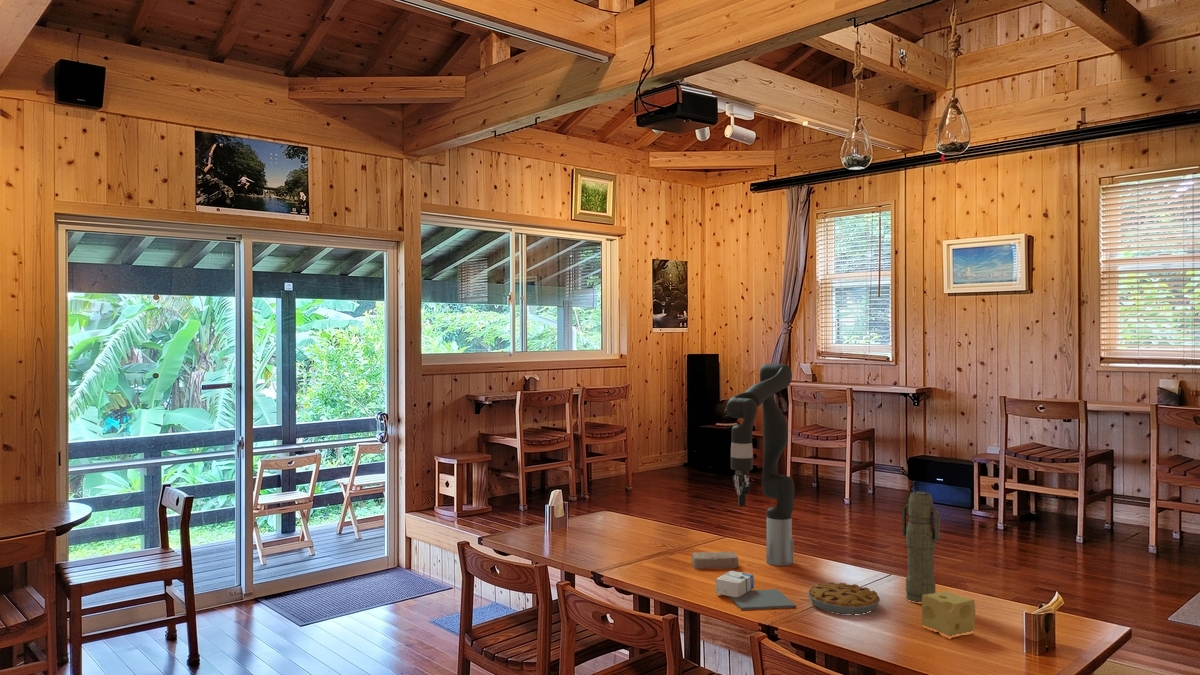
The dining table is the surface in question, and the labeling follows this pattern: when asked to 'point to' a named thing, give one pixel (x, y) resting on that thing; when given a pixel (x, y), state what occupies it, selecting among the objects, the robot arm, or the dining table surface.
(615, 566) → the dining table surface
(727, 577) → the ink box
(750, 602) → the mat
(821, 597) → the pie
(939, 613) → the cheese
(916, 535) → the dark olive tall piece
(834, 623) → the dining table surface
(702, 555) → the brick
